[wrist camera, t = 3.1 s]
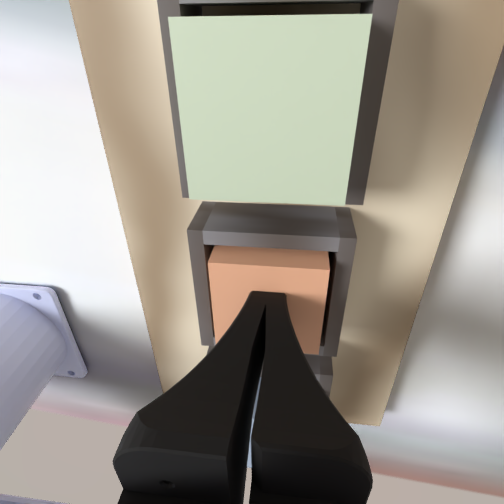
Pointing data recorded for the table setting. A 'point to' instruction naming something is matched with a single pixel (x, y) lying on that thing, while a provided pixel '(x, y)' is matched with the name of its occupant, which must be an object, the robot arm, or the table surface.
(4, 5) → the table surface
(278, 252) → the terracotta key
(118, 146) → the keypad base
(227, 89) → the sage key
